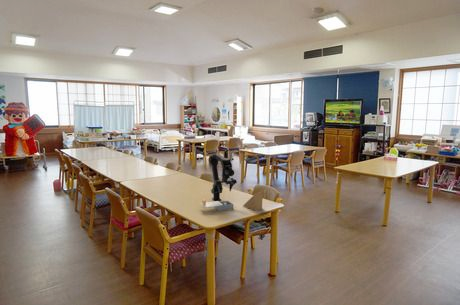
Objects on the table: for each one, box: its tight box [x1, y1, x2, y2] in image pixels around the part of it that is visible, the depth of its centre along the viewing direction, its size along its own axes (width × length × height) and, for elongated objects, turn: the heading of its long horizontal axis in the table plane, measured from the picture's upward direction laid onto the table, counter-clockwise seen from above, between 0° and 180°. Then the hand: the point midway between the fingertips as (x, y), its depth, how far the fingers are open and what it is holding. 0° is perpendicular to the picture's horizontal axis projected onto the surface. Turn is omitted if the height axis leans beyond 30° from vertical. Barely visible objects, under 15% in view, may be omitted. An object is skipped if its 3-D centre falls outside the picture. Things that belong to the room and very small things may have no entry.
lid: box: [200, 199, 223, 208], centre depth 247 cm, size 11×15×5 cm
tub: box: [213, 200, 234, 212], centre depth 252 cm, size 10×13×4 cm
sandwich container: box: [242, 190, 264, 212], centre depth 255 cm, size 9×15×15 cm, turn 43°
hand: (225, 191), depth 258 cm, fingers open, 9 cm apart
